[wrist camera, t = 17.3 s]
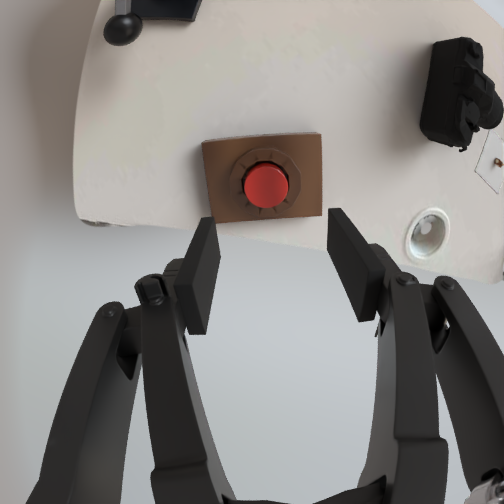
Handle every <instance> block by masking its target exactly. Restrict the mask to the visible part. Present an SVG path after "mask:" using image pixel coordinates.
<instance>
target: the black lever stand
mask: <svg viewBox="0 0 504 504" xmlns="http://www.w3.org/2000/svg"><path fill="white" fill-rule="evenodd" d="M201 2H202V0H131V12H133V13H135V14H137V15H138V16H139V17H140V18H141V20H181V21H194V20H195V18H196V15H197V12H198V10H199V7H200V4H201Z"/></svg>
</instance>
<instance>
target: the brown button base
mask: <svg viewBox="0 0 504 504" xmlns="http://www.w3.org/2000/svg"><path fill="white" fill-rule="evenodd" d="M201 144H202V152H203V159H204V167H205V174H206V181H207V188H208V194H209V201H210V207H211V214H212V217H214V218H215V224H216V223H228V222H240V221H252V220H265V219H279V218H294V217H311V216H322V142H321V134H319V133H316V132H309V133H279V134H263V135H250V136H239V137H229V138H221V139H212V140H205V141H204V142H202V143H201ZM262 163H269V164H273V165H275V166H277V167H278V168H280V169H281V170H282V172H283V173H284V175H285V177H286V180H287V183H288V192H287V195H286V197H285V198H284V200H283V201H282V202H281V203H280V204H278V205H276V206H274V207H271V208H261V207H258V206H256V205H254V204H253V203H251V202H250V201H249V200H248V198H247V196H246V194H245V190H244V185H245V178H246V175H247V173H248V172H249V170H250V169H251V168H253V167H254V166H256V165H258V164H262Z"/></svg>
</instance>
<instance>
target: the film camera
mask: <svg viewBox="0 0 504 504" xmlns="http://www.w3.org/2000/svg"><path fill="white" fill-rule="evenodd" d="M483 58H484V57H483V49H482V46H481V45H480V43H477V42H475V41H474V40H473V39H471V38H467V37H460V38H455V39H449V40H444V41H439V42H438V41H437V42H436V43H434V45H433V51H432V57H431V63H430V70H429V76H428V81H427V87H426V93H425V98H424V103H423V109H422V115H421V120H420V128H421V131H422V133H423V134H424V135H425V136H427V138H428V139H429V140H431V141H434V142H437V143H441V144H444V145H448V146H449V147H453V146H455V147H462V148H463V149H459V152H463V151H465V150H467V146H469V144H470V143H471V139H472V135H473V132H478V131H480V128H479V127H482V128H484V129H493V128H495V127H497V126H498V125H499V124H500V122H501V120H502V118H503V113H504V108H503V102H502V100H501V99H500V97H499V96H498V94H497V93H496V91H495V84H494V82H493V81H492V80H491V79H490V78H489V77H488V76H486V75H485V74H484V73H483ZM478 126H479V127H478Z"/></svg>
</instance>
